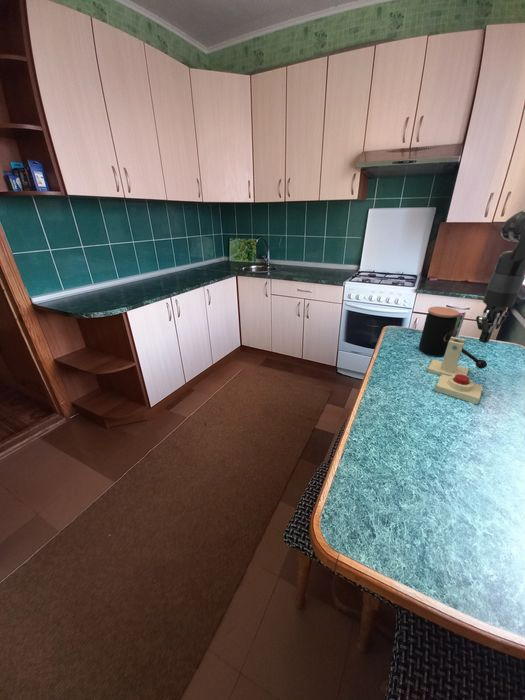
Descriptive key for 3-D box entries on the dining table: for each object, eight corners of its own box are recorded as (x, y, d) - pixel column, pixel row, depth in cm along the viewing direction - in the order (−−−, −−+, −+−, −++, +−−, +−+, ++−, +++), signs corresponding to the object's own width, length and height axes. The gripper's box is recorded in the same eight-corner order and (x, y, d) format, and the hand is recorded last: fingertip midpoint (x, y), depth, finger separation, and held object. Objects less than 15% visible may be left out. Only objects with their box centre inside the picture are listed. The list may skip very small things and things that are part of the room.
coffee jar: (443, 359, 116) (455, 317, 107) (414, 352, 122) (424, 311, 114) (449, 350, 123) (462, 310, 114) (422, 343, 129) (432, 304, 121)
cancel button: (468, 381, 95) (470, 376, 94) (467, 386, 92) (468, 382, 92) (454, 377, 97) (456, 372, 97) (452, 382, 95) (454, 378, 94)
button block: (480, 391, 96) (484, 381, 94) (477, 404, 90) (481, 393, 88) (440, 379, 103) (443, 369, 101) (434, 390, 97) (437, 380, 95)
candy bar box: (423, 343, 129) (432, 308, 122) (427, 340, 132) (436, 305, 125) (451, 351, 122) (463, 314, 114) (454, 347, 125) (466, 311, 118)
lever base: (468, 371, 107) (479, 340, 102) (464, 382, 101) (476, 349, 95) (432, 362, 114) (440, 332, 108) (426, 371, 108) (435, 340, 102)
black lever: (482, 368, 102) (490, 362, 99) (481, 371, 99) (489, 366, 97) (449, 343, 105) (456, 337, 103) (447, 346, 103) (455, 340, 101)
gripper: (503, 294, 80) (482, 350, 88) (530, 289, 85) (508, 342, 93) (475, 288, 86) (458, 341, 94) (502, 283, 91) (484, 334, 99)
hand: (483, 341), depth 93 cm, fingers closed
